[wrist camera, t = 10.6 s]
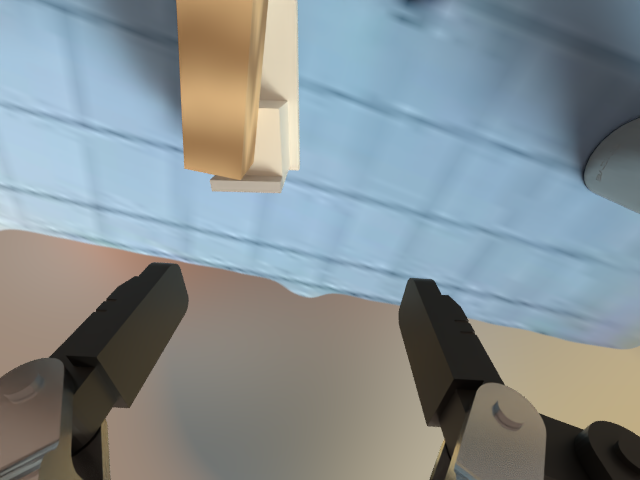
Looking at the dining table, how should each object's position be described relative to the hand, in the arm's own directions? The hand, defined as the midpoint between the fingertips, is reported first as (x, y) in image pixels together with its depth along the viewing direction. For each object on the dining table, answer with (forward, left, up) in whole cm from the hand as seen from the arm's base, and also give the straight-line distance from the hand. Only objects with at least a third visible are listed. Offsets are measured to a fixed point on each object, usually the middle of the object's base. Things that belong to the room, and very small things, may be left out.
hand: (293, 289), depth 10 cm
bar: (+5, -8, -16) cm, 19 cm away
